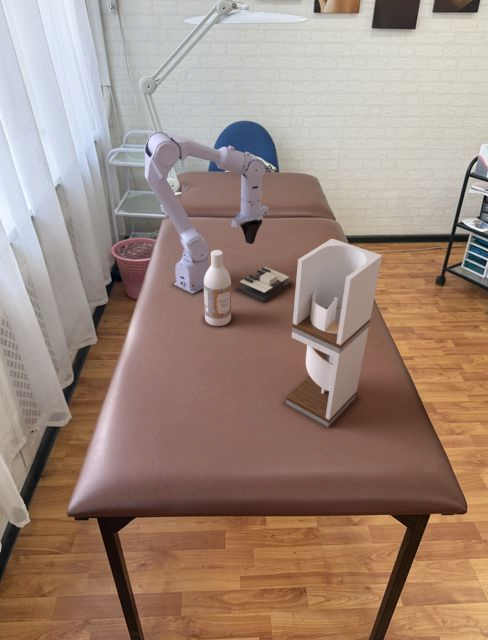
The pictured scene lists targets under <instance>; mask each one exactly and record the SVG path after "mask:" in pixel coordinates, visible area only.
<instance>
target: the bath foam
mask: <svg viewBox="0 0 488 640" xmlns="http://www.w3.org/2000/svg"><path fill="white" fill-rule="evenodd" d="M203 300H204V301H203V303H204V304H203V305H204V320H205V322H206V323H207V324H209V325H210V326H214V327H222V326H226V325H228V324H229V323H230V321H232V280H231V275H230V272H229V271H228V270H227V268H226V267H225V266H224V253H223V251H222V250H220V249H214V250H212V251H210V266H208V270H207V272H206V274H205V277H204V288H203Z"/></svg>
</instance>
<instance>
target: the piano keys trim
mask: <svg viewBox="0 0 488 640" xmlns="http://www.w3.org/2000/svg"><path fill="white" fill-rule="evenodd" d="M256 272H257V273H258V274H265V273H267V272H269V273H271V274H274V275H276V276H277V280H278V281H280V282H282V281H284V280H288V279H289V278H290V276H289V275H286V274H284V273H281V272H279V271H276V270H274V269H271V268H269V267H266V266H263V267H261V268H260V269H257V271H256ZM255 276H256V275H255ZM255 276H254V275H252V274H249V275H248V276H246V277H244V278H243V279H241V280H240V281H239V283H241V284H243V283H244V284H246V285H248V286H250V287H253V288H255V289H257V290H259V291H262V292H264V293H265V292H266V291H268V290H270V289H271V288H273V287H271V286H269V285H267V284H264V283H262V282H260V281H257V279H258V278H257V277H255ZM258 285H259V286H258ZM267 289H268V290H267Z"/></svg>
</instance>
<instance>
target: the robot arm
mask: <svg viewBox="0 0 488 640" xmlns="http://www.w3.org/2000/svg"><path fill="white" fill-rule="evenodd" d="M143 151H144V177H145V180H146V182H147V183H148V185H149V187H150V189H151V190H152V192H153V193H154V195H155V196H156V198H157V200H158V202H159V203H160V206H162V208H163V210H164V211H165V213H166V214H167V216H168V218H169V220H170V221H171V223H172V224H173V226H174V228H175V229H176V231H177V233H178V236H179V242H180V245H181V246H182V247H183V251H182V257H181V259H180V260H179V261H178V262H176V263H175V266H174V272H175V282H174V283H173V285H174V286H176V287H178V288H180V289H182V290H184V291H185V292H188V293H190V294H191V295H192V294H195V293H198V292H199V291H201V290H204V277H205V274H206V272H207V270H208V269H209V256H210V254H211V246H210V244H209V243H208V242H207V241H206V240H205V239H204V237H203V235H201V233H200V231H199V230H198V229H197V228H195V226H194V224H193V222H192V221H191V219H190V218H189V216H188V214H187V212H186V210H185V209H184V207H183V205H182V203H181V202H180V201H179V199H178V197H177V195H176V193H175V192H174V189H173V188H172V186H171V185H170V183H169V181H168V179H167V178H168V176H169V173H170V171H171V170H172V169H173V168H174V167H175V165H176V164H177V163H178V161H179V160H180V161H181V162H182V161H184V160H185V159H187V158H188V157H193V158H196V159H200V160H205V161H209V162H213V163H215V165H216V167H217V169H219V170H222V171H226V172H229V173H232V174H236V175H240V176H241V177H240V179H241V180H240V212H239V213H238V214H237V215H236V216H235V217H234V218H233V219H231V221H230V222H231V226H230V227H232V228H234V229H239V228H241V230H242V232H243V235H244V239H245V243H247V244H249V245H253V244H254V243H255V241H256V237H257V235H258V232H259V229H260V227H261V226H262V224H263V219H264V216H263V215H268V214H269V213H270V211H269V210H270V209H269V208H270V207H268V206H266V205H262V189H263V188H262V187H263V186H262V183H263V178H264V176H265V175H266V172H267V168H266V166H265V163H264V162H263V160H261V159H260V158H259V157H257V156H256V155H255V154H252V153H251V152H248V151H245V152H242V151H241V150H240V151H239V150H237V149H235V147H234V146H232V145H228V146H222V147H220V148H218V149H217V148H215V147H211V146H209V145H207V144H203V143H200V142H197V141H194V140H192V139H189V138H186V137H183V136H180V135H177V134H173V133H165V132H163V131H154V132H153V133H152V132H151V134H150V135H149V136H148V138H147V139H146V143H145V144H144V147H143Z"/></svg>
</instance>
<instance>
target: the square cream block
mask: <svg viewBox="0 0 488 640" xmlns="http://www.w3.org/2000/svg"><path fill="white" fill-rule="evenodd" d="M260 282H262V283H264V284H267V285H269V286H271V285H272V284H274V283H276V282H277V276H276V275H274V274H271V273H269V272H267V273H265V274H263V275H262V276H260Z"/></svg>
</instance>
